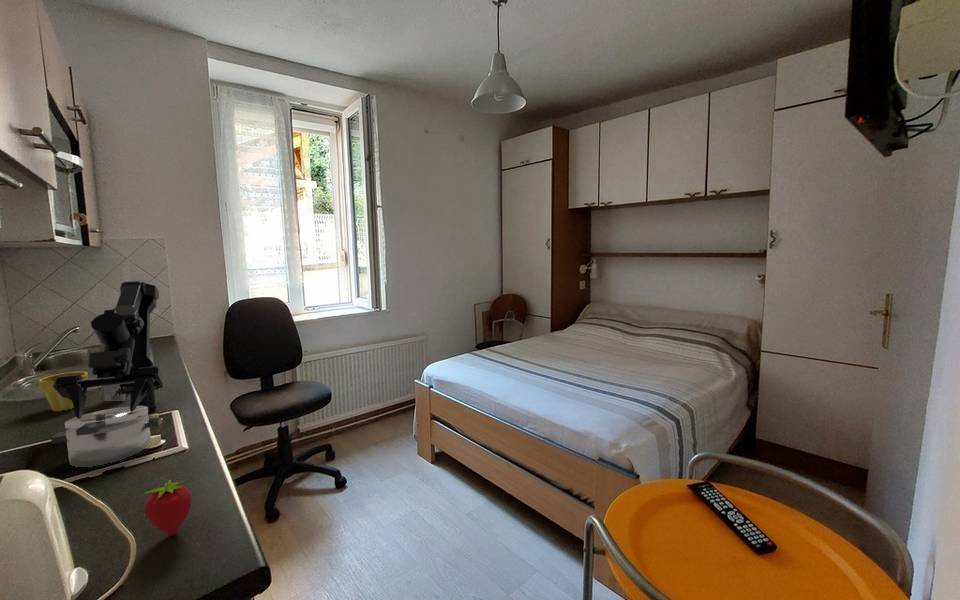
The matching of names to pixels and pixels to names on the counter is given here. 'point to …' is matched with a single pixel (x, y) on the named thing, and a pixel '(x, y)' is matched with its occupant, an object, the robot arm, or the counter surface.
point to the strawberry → (168, 507)
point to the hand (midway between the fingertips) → (105, 414)
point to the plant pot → (53, 396)
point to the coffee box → (115, 393)
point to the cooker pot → (108, 442)
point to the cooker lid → (103, 419)
